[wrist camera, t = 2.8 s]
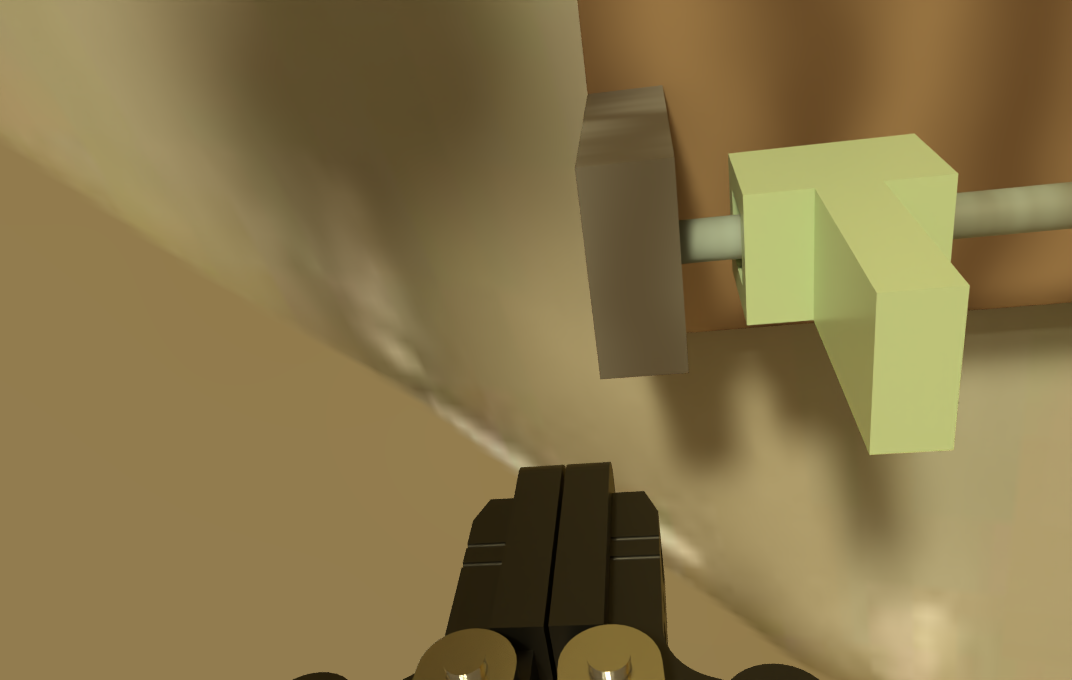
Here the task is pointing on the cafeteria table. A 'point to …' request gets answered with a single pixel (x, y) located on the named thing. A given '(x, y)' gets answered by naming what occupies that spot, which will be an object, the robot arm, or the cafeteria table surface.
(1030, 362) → the cafeteria table surface
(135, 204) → the cafeteria table surface
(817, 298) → the pale green tee block
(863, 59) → the lead screw stage
